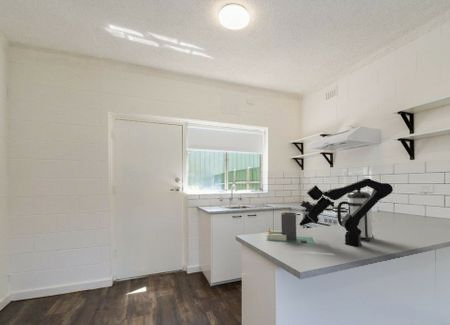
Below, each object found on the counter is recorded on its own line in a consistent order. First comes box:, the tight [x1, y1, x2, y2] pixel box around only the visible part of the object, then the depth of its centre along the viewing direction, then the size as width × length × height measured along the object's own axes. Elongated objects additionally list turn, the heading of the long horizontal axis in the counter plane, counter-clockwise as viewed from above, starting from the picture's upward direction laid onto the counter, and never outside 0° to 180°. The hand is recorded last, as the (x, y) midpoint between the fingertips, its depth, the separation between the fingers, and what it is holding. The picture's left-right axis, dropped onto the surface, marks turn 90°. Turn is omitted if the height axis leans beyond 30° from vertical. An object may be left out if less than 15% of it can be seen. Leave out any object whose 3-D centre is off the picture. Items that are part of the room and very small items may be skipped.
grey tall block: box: [280, 211, 297, 240], centre depth 130 cm, size 8×5×15 cm, turn 76°
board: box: [266, 227, 317, 245], centre depth 130 cm, size 26×14×6 cm, turn 76°
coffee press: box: [336, 188, 375, 242], centre depth 136 cm, size 17×16×30 cm
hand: (299, 225), depth 129 cm, fingers closed
